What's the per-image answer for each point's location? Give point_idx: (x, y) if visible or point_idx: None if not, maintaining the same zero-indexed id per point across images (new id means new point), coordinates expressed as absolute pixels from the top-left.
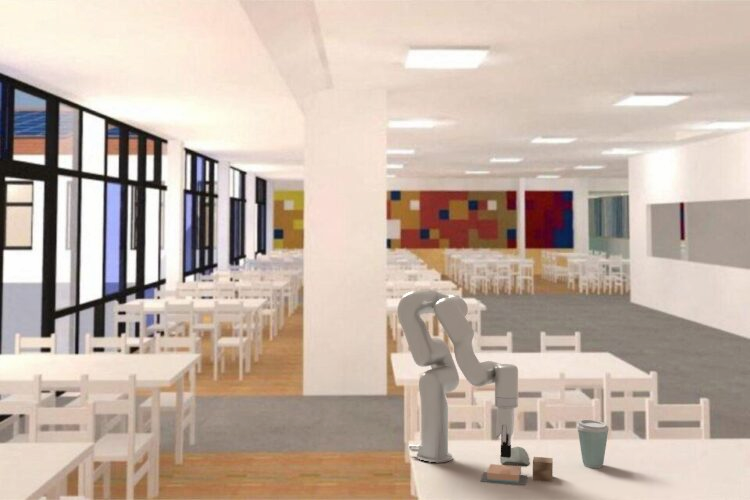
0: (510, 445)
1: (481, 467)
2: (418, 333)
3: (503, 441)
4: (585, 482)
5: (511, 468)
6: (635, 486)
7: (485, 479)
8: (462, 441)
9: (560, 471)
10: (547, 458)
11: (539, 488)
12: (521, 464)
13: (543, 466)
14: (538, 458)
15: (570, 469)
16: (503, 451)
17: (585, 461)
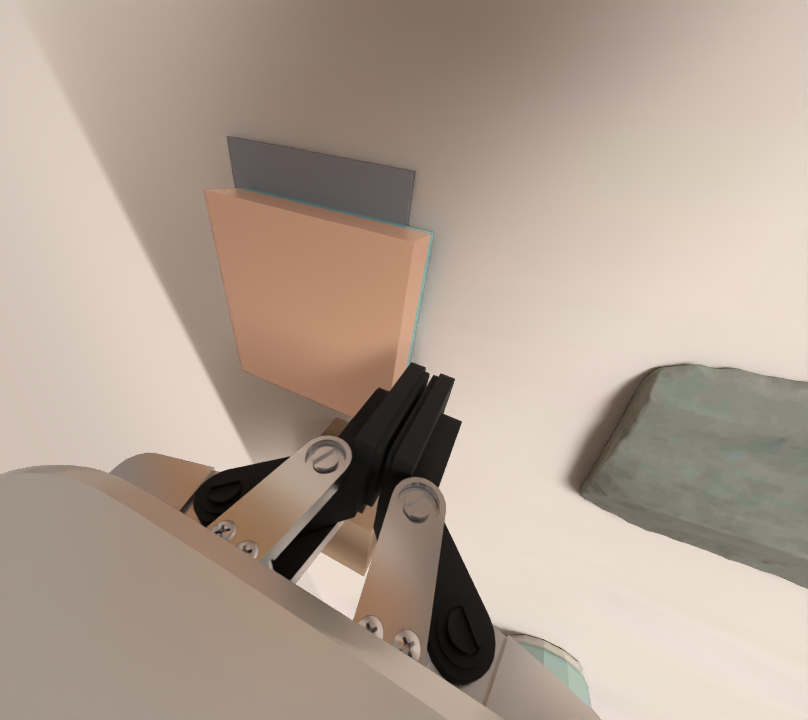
0: (358, 511)
1: (595, 146)
2: None
3: (136, 467)
4: None
5: (334, 370)
6: (348, 591)
7: (255, 177)
8: None
9: (465, 548)
10: (352, 559)
11: (255, 403)
12: (593, 472)
13: None
14: (342, 531)
15: (493, 585)
16: (364, 407)
17: None
